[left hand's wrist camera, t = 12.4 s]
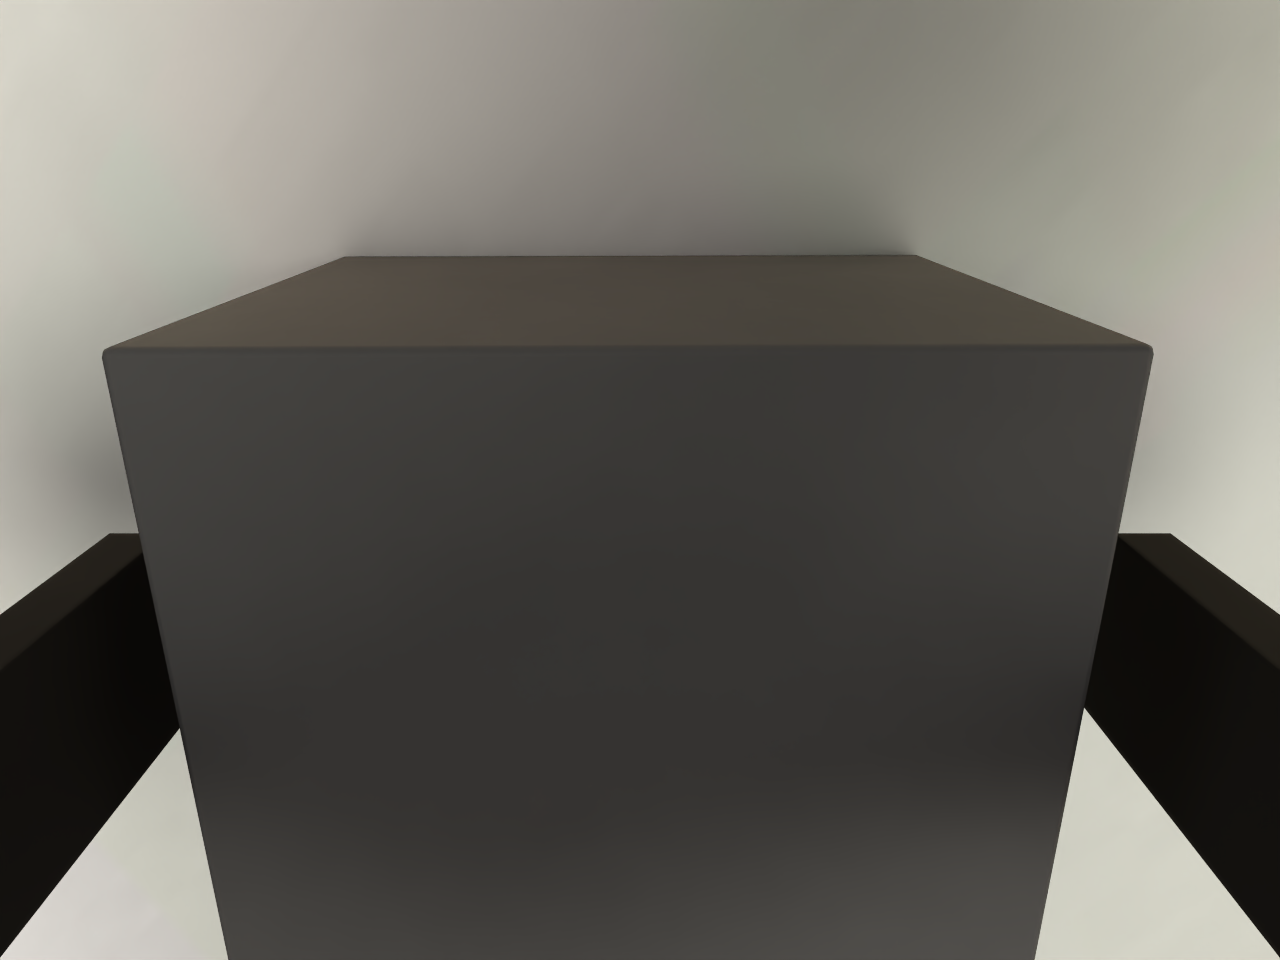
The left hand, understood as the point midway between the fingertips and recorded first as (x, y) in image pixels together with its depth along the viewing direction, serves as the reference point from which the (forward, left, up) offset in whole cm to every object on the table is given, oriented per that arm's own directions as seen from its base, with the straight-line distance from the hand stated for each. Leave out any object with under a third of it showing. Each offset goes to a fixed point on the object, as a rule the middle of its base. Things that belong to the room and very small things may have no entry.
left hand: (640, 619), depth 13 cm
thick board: (+29, +6, -4) cm, 30 cm away
